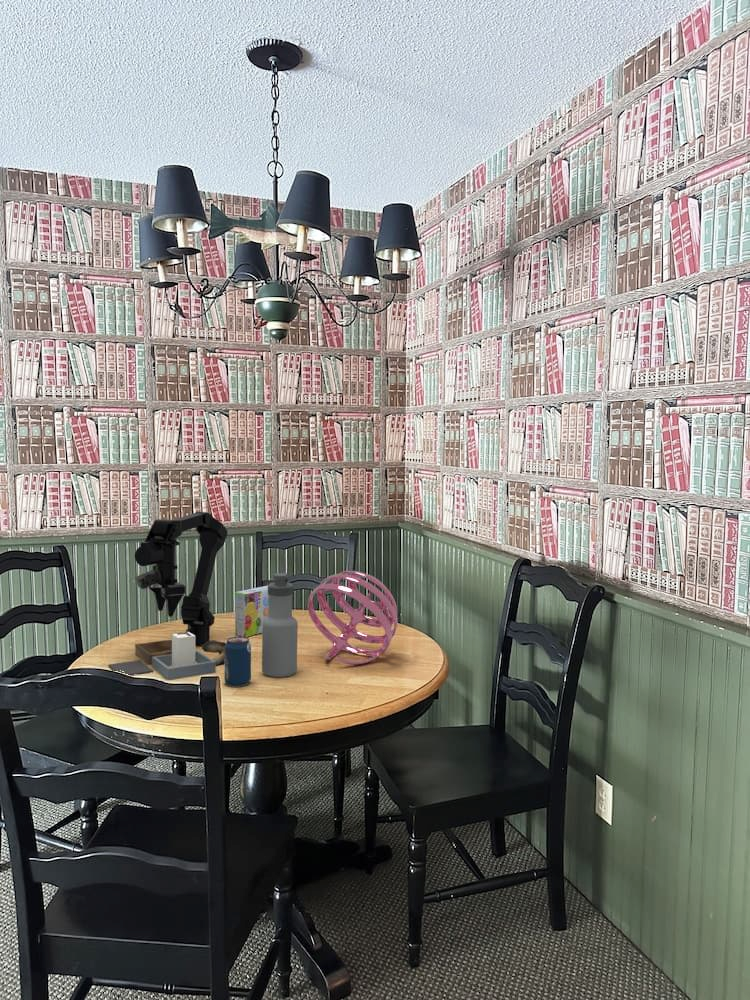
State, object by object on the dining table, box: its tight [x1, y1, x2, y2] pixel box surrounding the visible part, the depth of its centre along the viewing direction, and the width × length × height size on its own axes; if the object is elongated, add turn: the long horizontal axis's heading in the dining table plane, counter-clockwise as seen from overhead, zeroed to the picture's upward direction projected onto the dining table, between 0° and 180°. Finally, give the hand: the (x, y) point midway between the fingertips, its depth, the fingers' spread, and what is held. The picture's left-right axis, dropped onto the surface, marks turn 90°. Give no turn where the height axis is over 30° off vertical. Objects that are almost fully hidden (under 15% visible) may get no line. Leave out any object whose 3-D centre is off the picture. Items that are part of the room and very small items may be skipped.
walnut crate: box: [134, 639, 172, 666], centre depth 219 cm, size 14×14×3 cm
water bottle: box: [261, 572, 299, 678], centre depth 205 cm, size 10×10×28 cm
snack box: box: [234, 585, 269, 638], centre depth 253 cm, size 21×6×15 cm, turn 144°
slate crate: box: [151, 649, 217, 681], centre depth 206 cm, size 14×14×3 cm
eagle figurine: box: [201, 639, 226, 666], centre depth 215 cm, size 8×7×9 cm
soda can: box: [223, 636, 252, 688], centre depth 195 cm, size 7×7×12 cm
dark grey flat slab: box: [107, 659, 154, 676], centre depth 206 cm, size 9×12×1 cm
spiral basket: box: [307, 570, 398, 666], centre depth 219 cm, size 28×28×27 cm
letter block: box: [171, 631, 196, 668], centre depth 206 cm, size 5×5×10 cm
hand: (165, 613), depth 218 cm, fingers open, 9 cm apart
